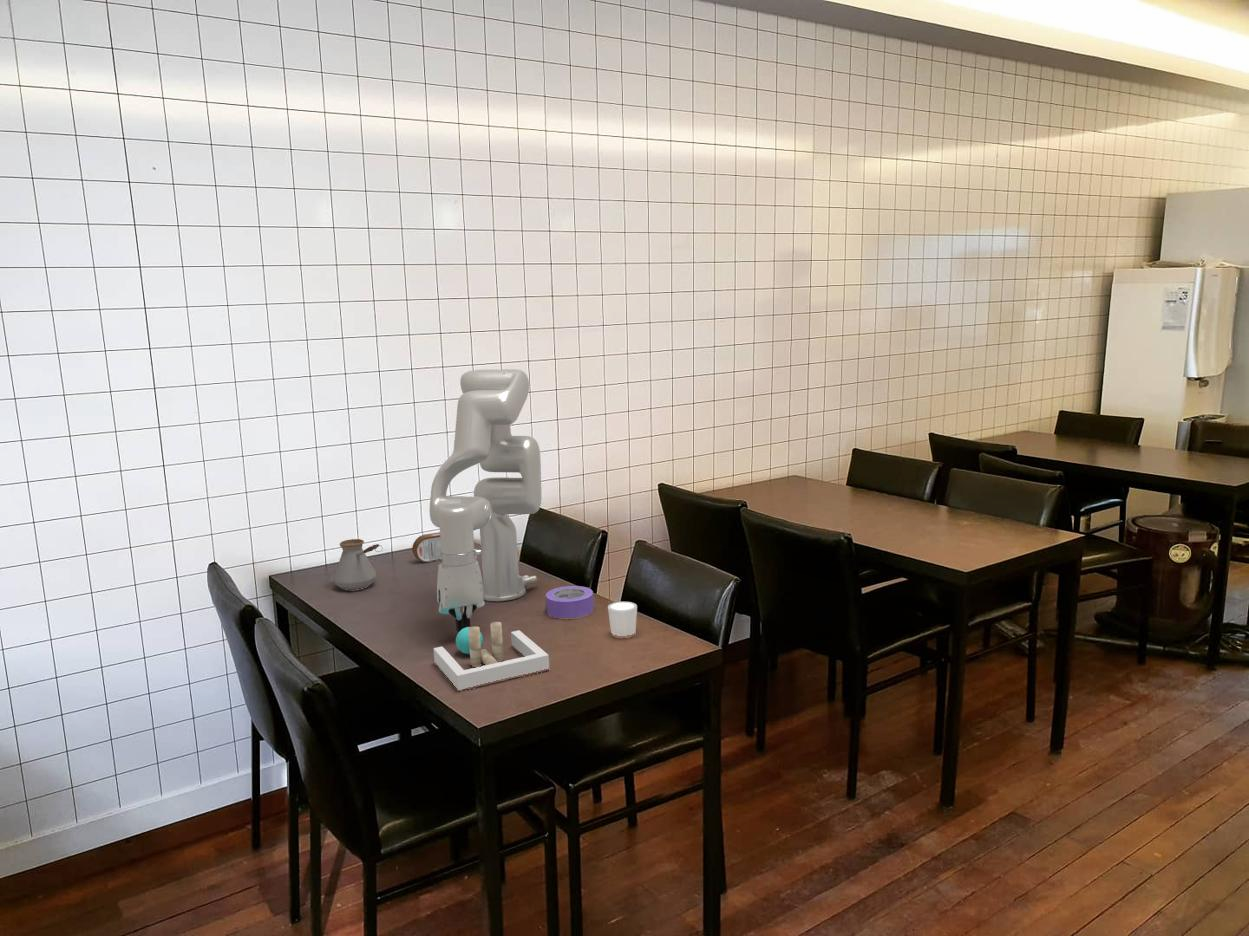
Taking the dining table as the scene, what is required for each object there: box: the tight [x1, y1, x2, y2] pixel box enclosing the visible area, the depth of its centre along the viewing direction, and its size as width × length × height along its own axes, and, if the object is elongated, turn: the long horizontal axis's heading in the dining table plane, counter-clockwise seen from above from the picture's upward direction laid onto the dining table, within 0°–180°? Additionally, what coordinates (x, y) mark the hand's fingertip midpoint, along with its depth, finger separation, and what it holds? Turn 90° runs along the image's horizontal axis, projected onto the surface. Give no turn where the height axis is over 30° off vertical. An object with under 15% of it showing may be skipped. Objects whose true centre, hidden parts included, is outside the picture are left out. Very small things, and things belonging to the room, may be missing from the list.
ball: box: [455, 626, 484, 655], centre depth 208 cm, size 6×6×6 cm
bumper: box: [433, 629, 550, 691], centre depth 200 cm, size 20×17×4 cm
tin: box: [412, 531, 442, 563], centre depth 281 cm, size 15×3×8 cm, turn 120°
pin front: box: [481, 648, 498, 666], centre depth 201 cm, size 2×2×8 cm
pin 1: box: [468, 626, 483, 666], centre depth 201 cm, size 2×2×8 cm
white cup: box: [607, 601, 638, 636], centre depth 216 cm, size 7×7×7 cm
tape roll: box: [545, 585, 595, 618], centre depth 233 cm, size 12×12×5 cm
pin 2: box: [490, 621, 504, 661], centre depth 203 cm, size 2×2×8 cm
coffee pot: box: [333, 538, 384, 590], centre depth 253 cm, size 21×12×15 cm, turn 43°
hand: (463, 633), depth 216 cm, fingers closed
